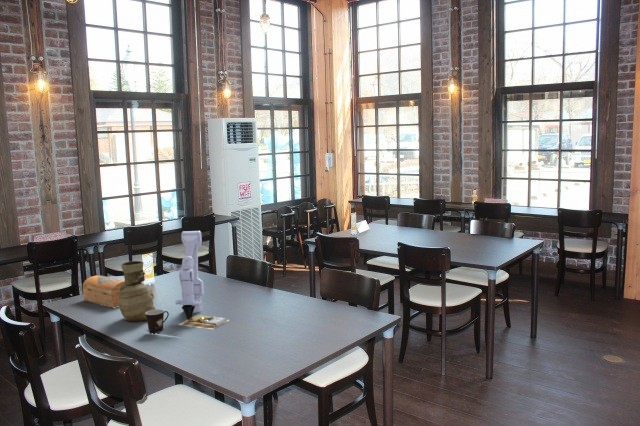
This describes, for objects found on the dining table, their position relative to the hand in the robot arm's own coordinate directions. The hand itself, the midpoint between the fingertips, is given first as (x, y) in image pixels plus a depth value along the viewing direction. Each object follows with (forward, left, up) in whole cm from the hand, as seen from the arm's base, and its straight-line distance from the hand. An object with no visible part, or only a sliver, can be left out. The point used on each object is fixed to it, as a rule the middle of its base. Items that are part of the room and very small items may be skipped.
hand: (189, 319), depth 294 cm
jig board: (+9, 0, -2) cm, 9 cm away
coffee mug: (-6, -16, -2) cm, 17 cm away
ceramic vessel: (-30, -3, -2) cm, 30 cm away
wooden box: (-69, +17, -2) cm, 71 cm away
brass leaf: (+5, 0, -1) cm, 5 cm away
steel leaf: (+15, 0, -1) cm, 15 cm away
